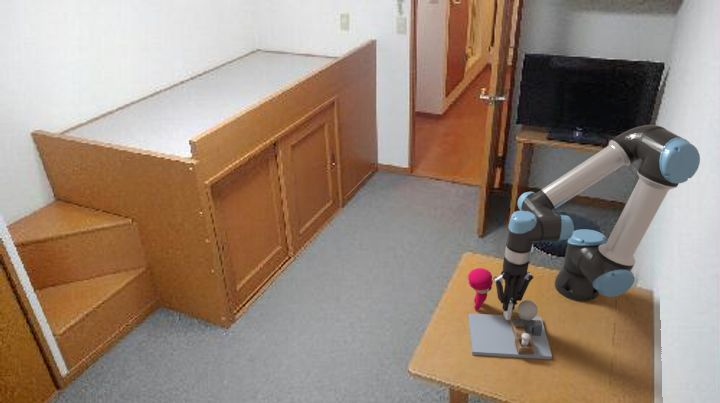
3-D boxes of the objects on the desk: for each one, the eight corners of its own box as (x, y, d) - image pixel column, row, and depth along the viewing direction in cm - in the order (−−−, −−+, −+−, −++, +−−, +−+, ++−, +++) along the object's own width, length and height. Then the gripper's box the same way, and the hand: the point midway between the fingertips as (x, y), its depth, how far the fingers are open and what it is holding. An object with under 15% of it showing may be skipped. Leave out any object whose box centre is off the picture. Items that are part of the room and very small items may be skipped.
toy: (491, 314, 186) (496, 279, 178) (467, 314, 186) (470, 279, 179) (487, 299, 193) (491, 264, 186) (463, 299, 193) (466, 264, 186)
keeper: (538, 333, 177) (541, 320, 174) (540, 338, 175) (542, 325, 172) (511, 332, 178) (513, 319, 175) (512, 337, 176) (514, 324, 173)
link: (534, 353, 167) (535, 345, 166) (518, 354, 167) (519, 345, 166) (518, 315, 183) (520, 306, 181) (504, 315, 183) (505, 307, 181)
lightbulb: (534, 337, 175) (538, 309, 170) (514, 333, 177) (518, 306, 172) (534, 325, 180) (538, 298, 176) (515, 321, 182) (519, 295, 177)
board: (540, 319, 183) (543, 304, 180) (551, 359, 167) (554, 343, 164) (468, 316, 185) (469, 300, 182) (472, 354, 170) (473, 338, 166)
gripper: (529, 249, 173) (519, 307, 184) (492, 254, 171) (484, 312, 182) (541, 262, 167) (530, 321, 178) (503, 267, 164) (493, 327, 176)
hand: (506, 317), depth 180 cm, fingers closed
